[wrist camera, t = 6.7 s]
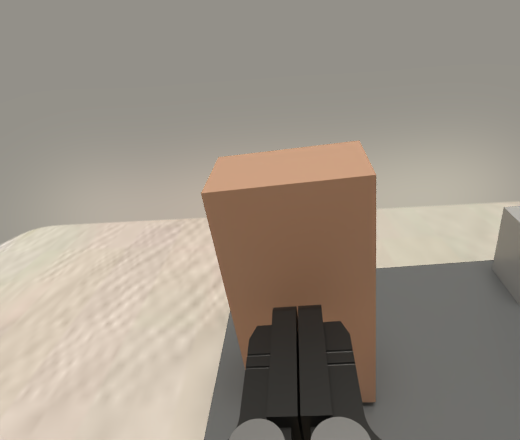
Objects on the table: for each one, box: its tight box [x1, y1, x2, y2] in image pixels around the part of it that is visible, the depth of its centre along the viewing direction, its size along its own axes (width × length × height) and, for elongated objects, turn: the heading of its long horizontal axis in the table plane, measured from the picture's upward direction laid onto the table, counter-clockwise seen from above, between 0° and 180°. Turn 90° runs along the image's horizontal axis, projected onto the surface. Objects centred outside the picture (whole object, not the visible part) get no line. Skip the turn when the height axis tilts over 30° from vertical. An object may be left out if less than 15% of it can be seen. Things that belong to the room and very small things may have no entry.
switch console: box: [204, 206, 520, 440], centre depth 16 cm, size 22×14×6 cm, turn 86°
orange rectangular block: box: [201, 141, 376, 403], centre depth 14 cm, size 5×3×10 cm, turn 86°
